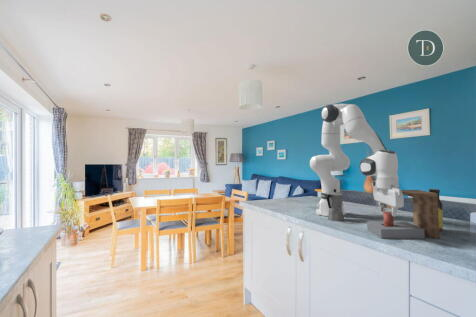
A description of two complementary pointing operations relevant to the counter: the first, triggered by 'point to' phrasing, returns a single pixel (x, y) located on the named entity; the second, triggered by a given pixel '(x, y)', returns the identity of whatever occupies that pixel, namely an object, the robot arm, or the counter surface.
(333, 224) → the counter surface
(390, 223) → the peg
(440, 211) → the sauce bottle
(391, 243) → the counter surface
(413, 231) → the socket block
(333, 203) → the coffeepot
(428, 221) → the wooden overhang shelf
